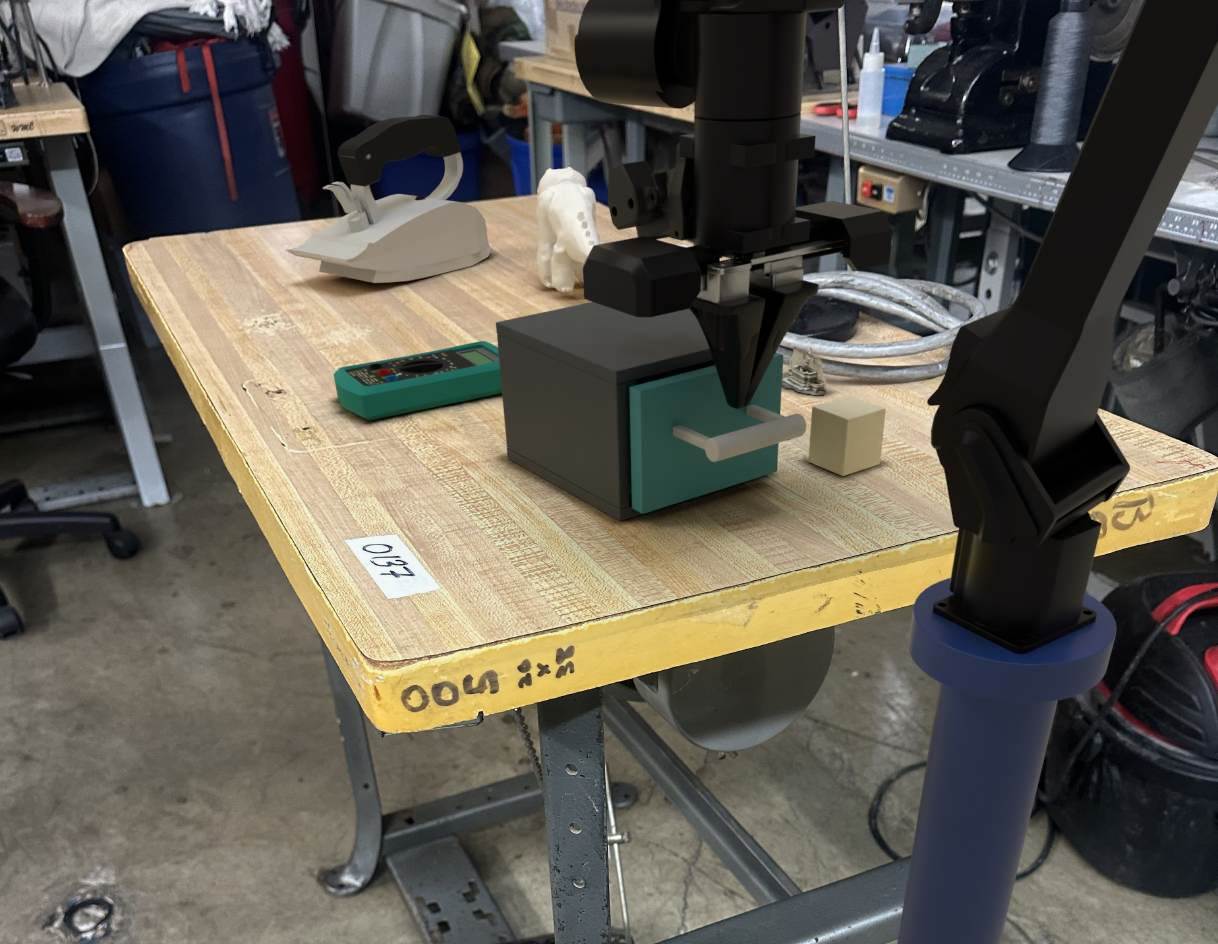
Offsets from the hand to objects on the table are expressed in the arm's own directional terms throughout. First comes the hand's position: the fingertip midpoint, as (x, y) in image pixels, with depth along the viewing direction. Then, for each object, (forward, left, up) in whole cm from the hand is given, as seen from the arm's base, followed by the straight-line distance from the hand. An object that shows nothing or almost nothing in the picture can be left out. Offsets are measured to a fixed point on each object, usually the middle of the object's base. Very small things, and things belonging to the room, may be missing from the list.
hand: (737, 406), depth 72 cm
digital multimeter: (+35, +4, -7) cm, 36 cm away
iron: (+78, -15, -7) cm, 80 cm away
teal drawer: (+7, 0, -6) cm, 9 cm away
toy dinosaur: (+55, -24, -7) cm, 61 cm away
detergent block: (+2, -12, -7) cm, 14 cm away
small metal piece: (+17, -21, -7) cm, 28 cm away
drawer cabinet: (+11, 0, -7) cm, 13 cm away
